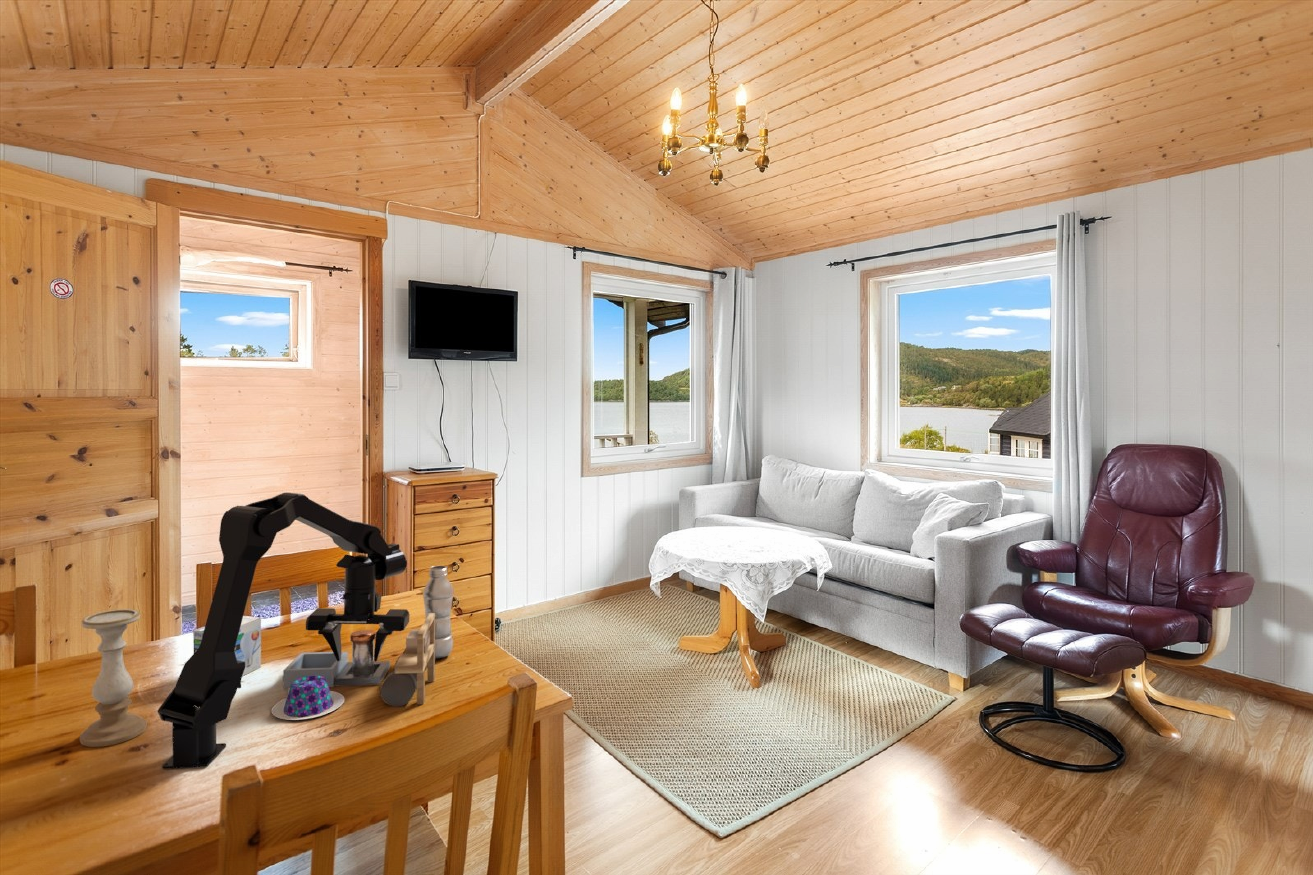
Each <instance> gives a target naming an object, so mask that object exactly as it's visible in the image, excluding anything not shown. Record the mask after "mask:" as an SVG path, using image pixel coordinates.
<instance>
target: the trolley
mask: <svg viewBox="0 0 1313 875" xmlns="http://www.w3.org/2000/svg"><path fill="white" fill-rule="evenodd" d="M424 620H425V619H424ZM434 649H435V613H430V614H429V615H428V617H427V619H426V620H425V621H424V622H423V624H422V625H421V627H420V629H411V630H410V631H409V633H408V634H407V637H406V638H405V648H404V650H403V652H402V653H401V654H400V655H399V657H398V658H397V660H396V661H395V663H394V665H393V671H391V672H390V673H389V674H388V675H387V676H385V677H386V678H384V680H383V682H382V683H381V686H380V691H379V692H380V697H381V699H382V700H383V701H384V703H386V704H387V705H389V706H392V707H402V706H405V705H406V704H408V703H409V702H410V701H411V700H413V699H412V698H413V696H414V695H415V692H416V705H425V701H426V700H425V699H426V681H427V683H434V682H435V680H436V679H435V678H436V676H435V675H436V671H435V670H436V667H435V666H436V662H435V661H436V659H435V650H434ZM426 670H427V674H426ZM426 675H427V676H426ZM426 678H427V679H426Z"/></svg>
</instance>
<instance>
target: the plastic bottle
mask: <svg viewBox="0 0 1313 875" xmlns="http://www.w3.org/2000/svg"><path fill="white" fill-rule="evenodd" d="M428 577H429V578H430V579H429V580H428V581H427V583H426V584H425V585H424V588H423V591H422V597H423V604H424V616H425V618H424V620H426V619H427V617H428V615H429V614H430V613H435V649H434V650H435V660H436V659H441V658H446V657H448V656H449V655H450V654H451V653H452V651H453V647H454V640H453V635H452V623H451V622H452V621H451V619H452V618H451V615H452V604H453V599H454V587H453V585H452V583H451V582H450V580H449V579H448V578H447V577H448V567H447V566H446V565H435V566H434V565H433V566H431V567H429V574H428Z"/></svg>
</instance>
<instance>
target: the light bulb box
mask: <svg viewBox="0 0 1313 875" xmlns="http://www.w3.org/2000/svg"><path fill="white" fill-rule="evenodd" d="M204 629H205V626H202V627H199V628H196V629H193V633H192V634H193V654H194V653H195V652H196V651H197V650H198V648H199V646H200V643H201V640H202V636H203V632H204ZM235 655H236V659H237V660H238V661H243V662H245V670H244V672H243V675H242V677H244V676H245V675H247V674H251V673H252V672H254V671H256V670H258V669H260V668H261V667H262V618H261V617H260V616H259V617H257V616H247V615H243V619H242V623H241V627H240V630H239V634H238V638H237V642H236V646H235Z"/></svg>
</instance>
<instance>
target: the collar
mask: <svg viewBox="0 0 1313 875" xmlns="http://www.w3.org/2000/svg"><path fill="white" fill-rule="evenodd" d="M390 669H391V661H390V660H380V661H379V660H377V661H374V675H352V661H348V663H347V664H346V665H345V666H344V667H343V669H342V670H341V671H340V672H339V674H338V675H337V676H336V677H335V679H334V686H333V687H347V686H348V687H351V686H352V687H355V686H356V687H357V686H379V685H380V684H382V681H384V679H385V677H386V675H387V674H388V671H389V670H390Z"/></svg>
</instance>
